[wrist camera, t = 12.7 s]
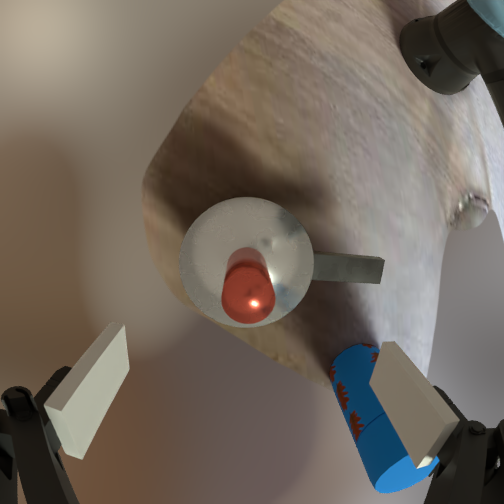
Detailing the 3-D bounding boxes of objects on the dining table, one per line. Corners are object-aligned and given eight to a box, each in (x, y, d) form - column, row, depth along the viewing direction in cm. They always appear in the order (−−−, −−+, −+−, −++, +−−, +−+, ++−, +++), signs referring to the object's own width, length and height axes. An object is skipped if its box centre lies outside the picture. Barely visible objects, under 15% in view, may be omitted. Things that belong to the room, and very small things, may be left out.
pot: (200, 190, 41) (185, 193, 30) (360, 207, 42) (394, 216, 31) (194, 284, 44) (180, 315, 33) (345, 295, 45) (372, 326, 34)
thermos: (391, 345, 48) (464, 436, 24) (369, 391, 50) (421, 486, 26) (340, 339, 47) (402, 448, 23) (320, 388, 49) (358, 498, 25)
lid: (185, 191, 30) (157, 196, 20) (318, 203, 31) (353, 214, 21) (180, 315, 33) (158, 366, 23) (300, 324, 34) (321, 377, 24)
